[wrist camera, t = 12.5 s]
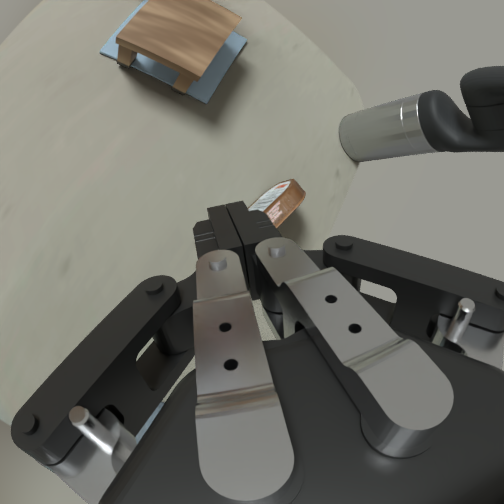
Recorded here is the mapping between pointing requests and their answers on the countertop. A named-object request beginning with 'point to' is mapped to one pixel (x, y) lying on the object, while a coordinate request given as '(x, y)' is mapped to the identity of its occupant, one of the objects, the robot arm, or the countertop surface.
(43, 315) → the countertop surface
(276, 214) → the tin
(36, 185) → the countertop surface
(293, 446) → the robot arm
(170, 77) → the mat
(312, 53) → the countertop surface
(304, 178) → the countertop surface
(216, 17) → the wooden board with legs
